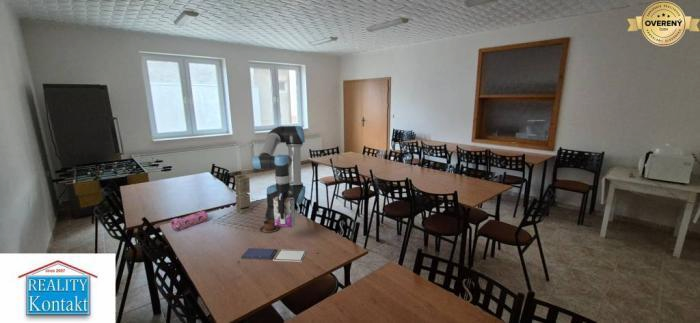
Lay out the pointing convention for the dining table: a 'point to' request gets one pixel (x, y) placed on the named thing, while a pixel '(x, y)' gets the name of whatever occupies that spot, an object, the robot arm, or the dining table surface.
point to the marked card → (290, 255)
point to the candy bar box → (288, 212)
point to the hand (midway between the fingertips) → (284, 221)
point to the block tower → (242, 193)
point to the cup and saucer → (269, 226)
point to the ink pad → (259, 253)
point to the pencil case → (189, 220)
